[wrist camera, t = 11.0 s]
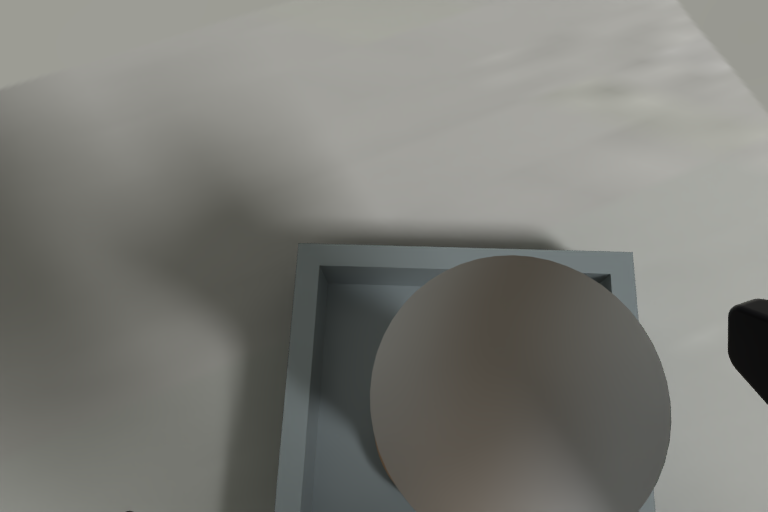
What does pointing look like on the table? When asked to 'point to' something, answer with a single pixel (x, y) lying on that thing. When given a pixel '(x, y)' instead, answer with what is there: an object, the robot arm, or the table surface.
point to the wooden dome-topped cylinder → (519, 394)
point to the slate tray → (370, 362)
